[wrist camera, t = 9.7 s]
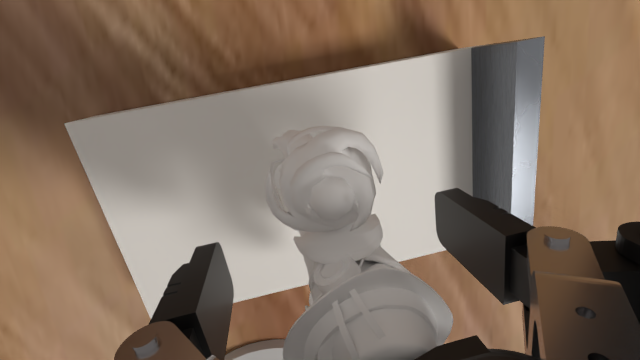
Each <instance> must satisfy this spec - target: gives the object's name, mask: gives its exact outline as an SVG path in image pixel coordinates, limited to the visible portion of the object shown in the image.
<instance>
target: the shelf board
mask: <svg viewBox="0 0 640 360" xmlns="http://www.w3.org/2000/svg"><path fill="white" fill-rule="evenodd" d="M487 45H489V44H487ZM480 46H483V45H480ZM473 47H478V46H473ZM473 47H465V48H458V49H453V50H448V51H442V52H437V53H431V54H426V55H421V56H415V57H410V58H404V59H399V60H394V61H388V62H383V63H377V64H372V65H367V66H361V67H356V68H350V69H345V70H340V71H334V72H329V73H323V74H318V75H313V76H307V77H302V78H297V79H291V80H286V81H280V82H275V83H270V84H264V85H259V86H253V87H248V88H243V89H237V90H232V91H226V92H221V93H216V94H210V95H205V96H199V97H194V98H189V99H183V100H178V101H172V102H167V103H162V104H156V105H151V106H145V107H140V108H135V109H129V110H124V111H118V112H113V113H108V114H102V115H97V116H93V117H89V118H85V119H80V120H76V121H72V122H68V123H64V125H65V127H66V129H67V131H68V134H69V136H70V138H71V140H72V143H73V145H74V147H75V149H76V152H77V154H78V156H79V158H80V161H81V163H82V165H83V167H84V170H85V172H86V174H87V176H88V179H89V181H90V183H91V185H92V188H93V190H94V192H95V194H96V197H97V199H98V201H99V203H100V206H101V208H102V210H103V212H104V215H105V217H106V219H107V221H108V224H109V226H110V228H111V230H112V233H113V235H114V237H115V239H116V242H117V244H118V246H119V248H120V251H121V253H122V255H123V257H124V260H125V262H126V264H127V266H128V269H129V271H130V273H131V275H132V278H133V280H134V282H135V284H136V287H137V289H138V291H139V293H140V296H141V298H142V300H143V302H144V305H145V307H146V309H147V311H148V314H149V316H150V318H151V319H152V316H153V314H154V312H155V310H156V308H157V306H158V304H159V302H160V299H161V297H163V293H164V291H165V289H166V288H167V285H168V283H169V280H170V278H171V276H172V275H173V274H174V273H175V272H176V271H177V270H178V269H179V268H180V267H181V266H182V265H183V264H186V263H189V262H190V260H191V258H192V255H193V253H194V250H195V248H196V247H198V246H202V245H207V244H211V243H215V242H219V243H220V245H221V247H222V250H223V253H224V256H225V259H226V263H227V266H228V269H229V272H230V275H231V278H232V282H233V289H234V298H233V303H235V302H239V301H243V300H247V299H251V298H255V297H259V296H263V295H267V294H271V293H275V292H279V291H283V290H287V289H291V288H295V287H299V286H303V285H307V284H309V283H308V282H309V275H308V269H307V266H306V264H305V261H304V257H303V255H302V254H301V253H300V252H299V250H298V248H297V246H296V244H295V242H294V240H293V239H294V236H298V237H301V236H300V234H299V232H296V231H294V230H293V229H292V228H291V227H289V226H287V225H285V224H283V223H282V222H281V221H280V220H278V219H277V218H276V217H275V216H274V215H273V214H272V212H271V210H270V207H269V205H268V203H267V201H266V194H265V185H266V178H267V175H268V173H269V171H270V164H271V162H272V161H274V160H278V159H284V154H283V153H282V152H281V150H280V149H279V148H278V149H274V148H273V146H272V141H273V140H274V139H275V138H276V137H281V136H282V135H283V134H284V133H285V132H287V131H289V130H297V131H302V130H305V129H307V128H310V127H318V126H332V127H343V128H346V129H350V130H353V131H357V132H360V133H363V134H364V135H365V136H366V137H367V138H368V140H369V141H370V142H371V143H372V144H373V145H374V147H375V149H376V151H377V154H378V156H379V159H380V163H381V166H382V169H383V177H382V180H381V184H380V183H379V180H378V178H377V175H376V173H375V171H374V169H373V167H372V165H371V169H372V175H373V178H374V184H375V189H376V196H375V198H374V202H373V207H372V212H371V215H372V214H376V215H377V217H378V219H379V221H380V224H381V227H382V231H383V238H382V240H381V243H380V244H381V247H382V248H383V249H384V250H385V251H386V252H387V253H388V254H389V255H391V256H392V257H393V258H394V259H395V260H396V261H397V262H400V261H404V260H408V259H412V258H416V257H420V256H424V255H428V254H432V253H436V252H440V251H444V250H446V249H445V248H444V247H443V246H442V244H441V243H440V241H439V239H438V236H437V232H436V217H435V194H436V193H437V192H440V191H444V190H449V189H453V188H459V189H461V190H462V191H464V192H466V193H467V194H469V195H471V196H473V176H472V70H471V48H473ZM322 132H325V131H318V132H312V133H309V134H311V135H312V137H313V138H314V137H315V136H316V135H317V134H319V133H322ZM281 163H283V161H281V162H277V163H275V164H274V168H273V173H275V170H276V168H277V167H278V166H279V165H280V164H281ZM272 187H273V186H272ZM276 188H277V186H276ZM277 191H278V193H279V196H280V199H281V201H282V204H283V206H284V209H285V211H286V212H289V211H288V209H287V207H286V206H285V204H284V201H283V197H282V193H281V189H279V188H277ZM273 192H274V191H273ZM274 197H275V199H276V196H275V194H274ZM276 201H277V199H276ZM277 203H278V202H277Z"/></svg>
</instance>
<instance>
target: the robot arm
mask: <svg viewBox="0 0 640 360" xmlns="http://www.w3.org/2000/svg"><path fill="white" fill-rule="evenodd" d="M435 217H436V232H437V236H438V239H439V241H440V243H441V244H442V246H443V247H444V248H445V249H446V250H447V251H448V252H450V253H451V254H452V255H453V256H454V257H455V258H456V259H457V260H458V261H459V262H460V263H461V264H462V265H463V266H464V267H465V268H466V269H467V270H468V271H469V272H470V273H471V274H472V275H473V276H474V277H475V278H476V279H477V280H478V281H479V282H480V283H481V284H483V285H484V286H485V287H486V288H487V289H488V290H489V291H490V292H491V293H492V294H493V295H494V296H495V297H496V298H497V299H498V300H499V301H500V302H501V303H502V304H503V305H504V304H508V303H512V302H515V301H519V300H520V301H521V302H522V303H523V310H522V316H523V331H524V346H525V354H523V353H519V352H515V351H509V350H501V349H487V348H486V346H485V345H484V344H483V343H482V341H481V340H480V339H479V338H478V336H477V335H476V336H472V337H468V338H465V339H461V340H458V341H454V342H450V343H447V344H443V345H440V346H436V347H435V348H433V349H431V350H430V351H428V352H426V353H424V354H423V355H421V356H419V357H418V358H416V359H414V360H640V222H629V223H625V224H622V225H620V226H619V228H618V231H617V238H616V241H592V242H589V240H588V239H587V238H586V237H585V236H583V235H582V234H580V233H578V232H575V231H573V230H570V229H566V228H561V227H551V226H546V227H538V228H536V227H534V226H532V225H530V224H528V223H527V222H525V221H523V220H521V219H520V218H518V217H516V216H514V215H513V214H511V213H510V214H509V213H508V212H507V211H506V210H504V209H502V208H499V207H498V206H497V205H495V204H493V203H491V202H490V201H487V200H484V199H480V198H476V197H473V196H471V195H469V194H467V193H466V192H464V191H462V190H461V189H459V188H453V189H449V190H444V191H440V192H437V193H436V194H435ZM233 298H234V289H233V282H232V278H231V275H230V272H229V269H228V266H227V263H226V259H225V256H224V253H223V250H222V247H221V245H220V243H219V242H215V243H211V244H207V245H202V246H198V247H196V248H195V250H194V253H193V255H192V258H191V260H190V262H189V263H186V264H183V265H182V266H181V267H180V268H179V269H178V270H177V271H176V272H175V273H174V274H173V275H172V276H171V278H170V280H169V283H168V285H167V288H166V289H165V291H164V293H163V297H161V299H160V302H159V304H158V306H157V308H156V310H155V312H154V314H153V316H152V319H151V321H150V323H149V325H147V326H144V327H142V328H141V329H139V330H137V331H136V332H134V333H133V334H132V335H130V336H129V337H128V338H127V339H126V340H125V341H124V342H123V343H122V344H121V345H120V347H119V348H118V350H117V352H116V354H115V357H114V360H224V359H225V352H226V345H227V338H228V332H229V325H230V318H231V312H232V305H233Z"/></svg>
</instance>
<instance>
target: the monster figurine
mask: <svg viewBox="0 0 640 360" xmlns="http://www.w3.org/2000/svg"><path fill="white" fill-rule="evenodd" d="M284 342H285V339H274V340H266V341H260V342H256V343H252V344H248V345H246V346H243V347H241V348H238V349H235V350H234V351H232V352H230V353H228V354H226V355H225V359H224V360H283V347H284Z"/></svg>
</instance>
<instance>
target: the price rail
mask: <svg viewBox="0 0 640 360" xmlns="http://www.w3.org/2000/svg"><path fill="white" fill-rule="evenodd" d="M544 39H545V37H537V38H530V39H523V40H516V41H509V42H501V43H494V44H489V45H483V46H478V47H473V48H471V70H472V176H473V197H476V198H480V199H484V200H487V201H490V202H491V203H493V204H495V205H497V206H498V207H499V208H502V209H504V210H506V211H507V212H508V213H509V214H510V213H511V214H513V215H514V216H516V217H518V218H520V219H521V220H523V221H525V222H527V223H528V224H530V225H532V226H533V215H534V199H535V183H536V167H537V151H538V135H539V119H540V103H541V87H542V71H543V55H544Z"/></svg>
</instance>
